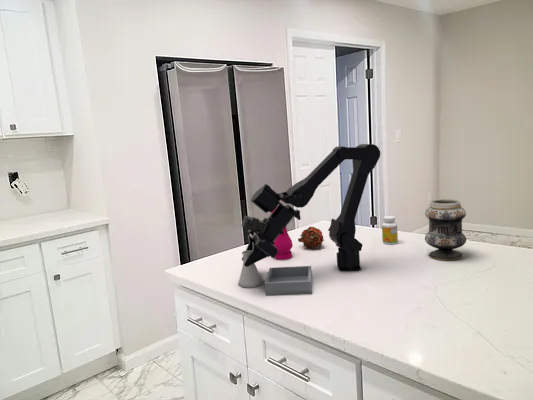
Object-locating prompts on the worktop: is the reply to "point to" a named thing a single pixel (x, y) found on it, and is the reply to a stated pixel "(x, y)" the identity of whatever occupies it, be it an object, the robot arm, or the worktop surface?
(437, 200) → the apothecary jar
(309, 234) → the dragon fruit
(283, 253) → the pepper mill
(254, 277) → the flask
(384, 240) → the supplement bottle
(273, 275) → the box
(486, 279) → the worktop surface
